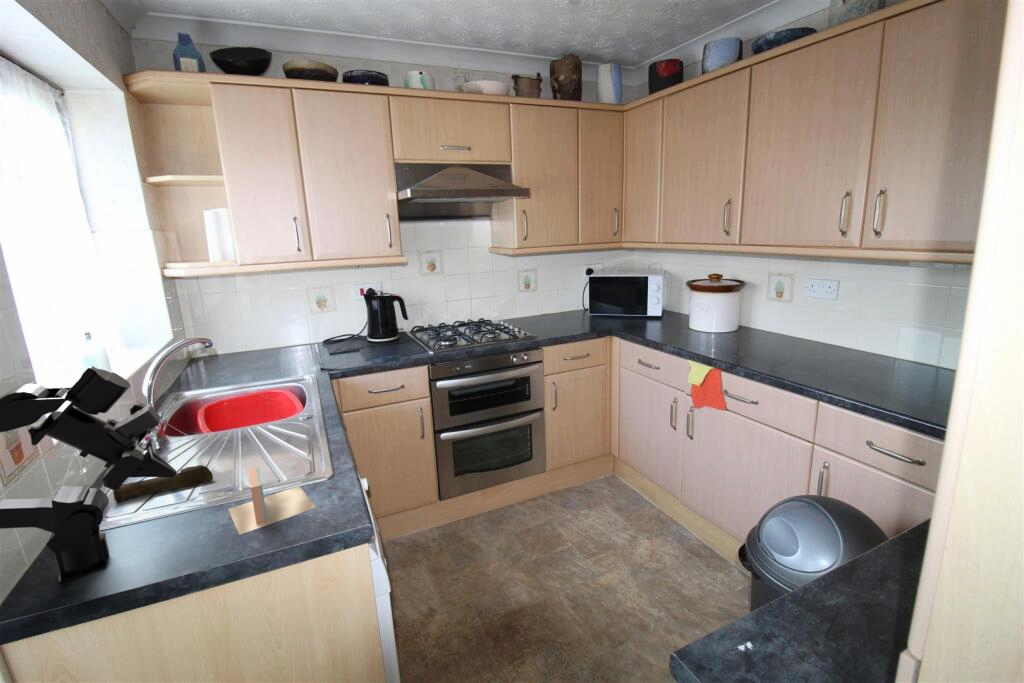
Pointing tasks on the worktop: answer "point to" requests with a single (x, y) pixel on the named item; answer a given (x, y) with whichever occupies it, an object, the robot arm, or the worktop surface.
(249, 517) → the beech board
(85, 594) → the worktop surface
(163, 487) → the brown wooden rod
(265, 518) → the terracotta tile
